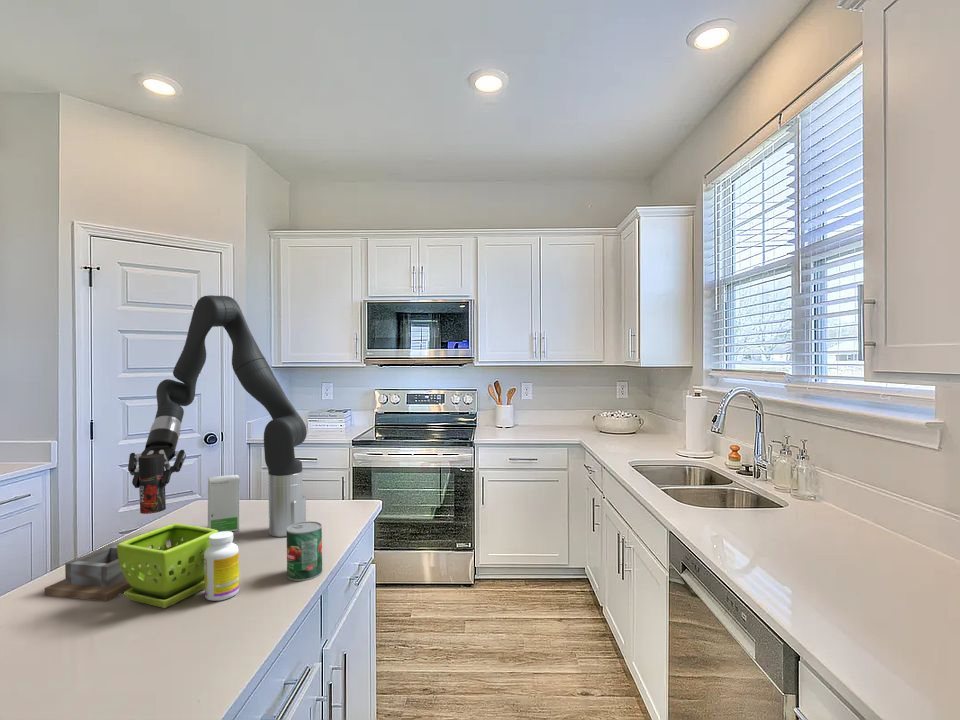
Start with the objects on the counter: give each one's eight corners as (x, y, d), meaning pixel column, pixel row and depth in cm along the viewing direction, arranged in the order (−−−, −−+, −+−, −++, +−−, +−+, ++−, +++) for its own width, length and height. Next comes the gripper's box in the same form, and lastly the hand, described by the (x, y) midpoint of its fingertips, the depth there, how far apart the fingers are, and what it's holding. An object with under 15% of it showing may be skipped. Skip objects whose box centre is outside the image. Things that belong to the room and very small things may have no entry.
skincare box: (208, 536, 145) (207, 481, 145) (207, 529, 150) (206, 476, 150) (240, 530, 149) (240, 477, 149) (238, 524, 155) (238, 473, 154)
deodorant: (170, 507, 142) (169, 453, 142) (155, 513, 136) (153, 458, 136) (151, 507, 143) (149, 453, 142) (134, 513, 137) (132, 458, 137)
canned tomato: (329, 570, 121) (329, 523, 121) (305, 583, 114) (304, 534, 114) (304, 564, 124) (303, 519, 124) (279, 577, 117) (278, 529, 117)
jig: (187, 559, 128) (186, 535, 128) (106, 601, 106) (106, 572, 106) (133, 555, 131) (133, 532, 131) (44, 594, 110) (44, 567, 109)
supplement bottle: (246, 590, 111) (245, 531, 111) (221, 604, 104) (221, 541, 104) (222, 585, 113) (221, 528, 113) (197, 599, 107) (196, 538, 107)
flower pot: (114, 604, 105) (113, 543, 105) (176, 577, 118) (175, 522, 118) (164, 616, 100) (163, 551, 100) (222, 585, 113) (221, 528, 113)
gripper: (132, 428, 145) (114, 480, 133) (188, 425, 148) (175, 475, 137) (140, 444, 150) (124, 495, 138) (194, 441, 153) (182, 490, 142)
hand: (149, 485), depth 138 cm, fingers closed on deodorant, 6 cm apart
